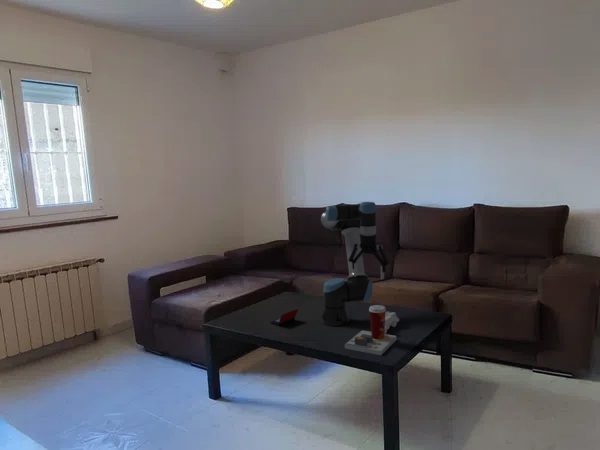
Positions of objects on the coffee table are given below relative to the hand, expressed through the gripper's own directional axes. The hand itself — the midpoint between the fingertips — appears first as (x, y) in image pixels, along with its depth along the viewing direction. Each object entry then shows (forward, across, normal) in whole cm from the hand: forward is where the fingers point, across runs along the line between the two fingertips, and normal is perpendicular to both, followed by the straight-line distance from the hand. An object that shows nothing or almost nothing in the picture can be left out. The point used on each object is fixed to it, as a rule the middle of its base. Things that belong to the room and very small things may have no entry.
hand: (369, 277), depth 221 cm
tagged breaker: (+28, +2, -16) cm, 32 cm away
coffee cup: (+29, +6, -4) cm, 29 cm away
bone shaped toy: (+31, +4, +13) cm, 34 cm away
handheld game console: (+32, -51, +1) cm, 61 cm away
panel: (+30, +4, -8) cm, 32 cm away
